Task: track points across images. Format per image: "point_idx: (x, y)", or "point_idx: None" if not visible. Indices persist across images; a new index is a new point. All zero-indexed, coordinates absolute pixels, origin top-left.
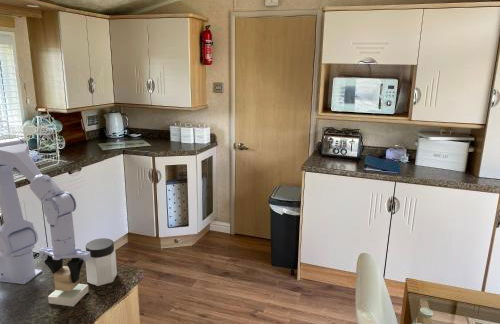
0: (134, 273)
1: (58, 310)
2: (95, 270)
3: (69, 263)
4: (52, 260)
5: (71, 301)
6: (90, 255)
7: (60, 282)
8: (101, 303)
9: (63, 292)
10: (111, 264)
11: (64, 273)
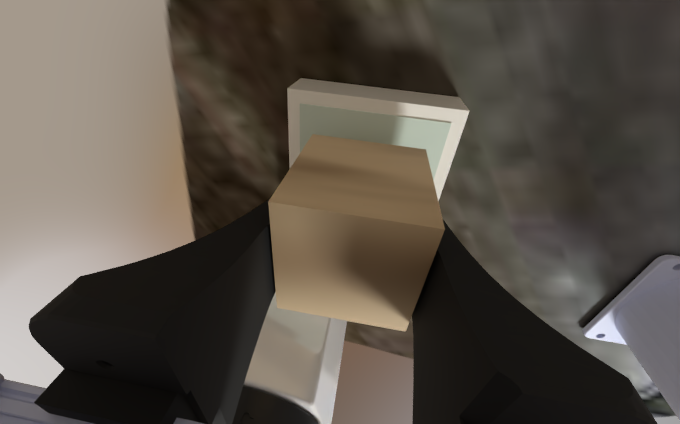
0: None
1: (366, 27)
2: None
3: (110, 332)
4: (494, 422)
5: (299, 86)
6: (253, 402)
7: (374, 173)
8: (182, 118)
9: None
10: None
11: (331, 237)
